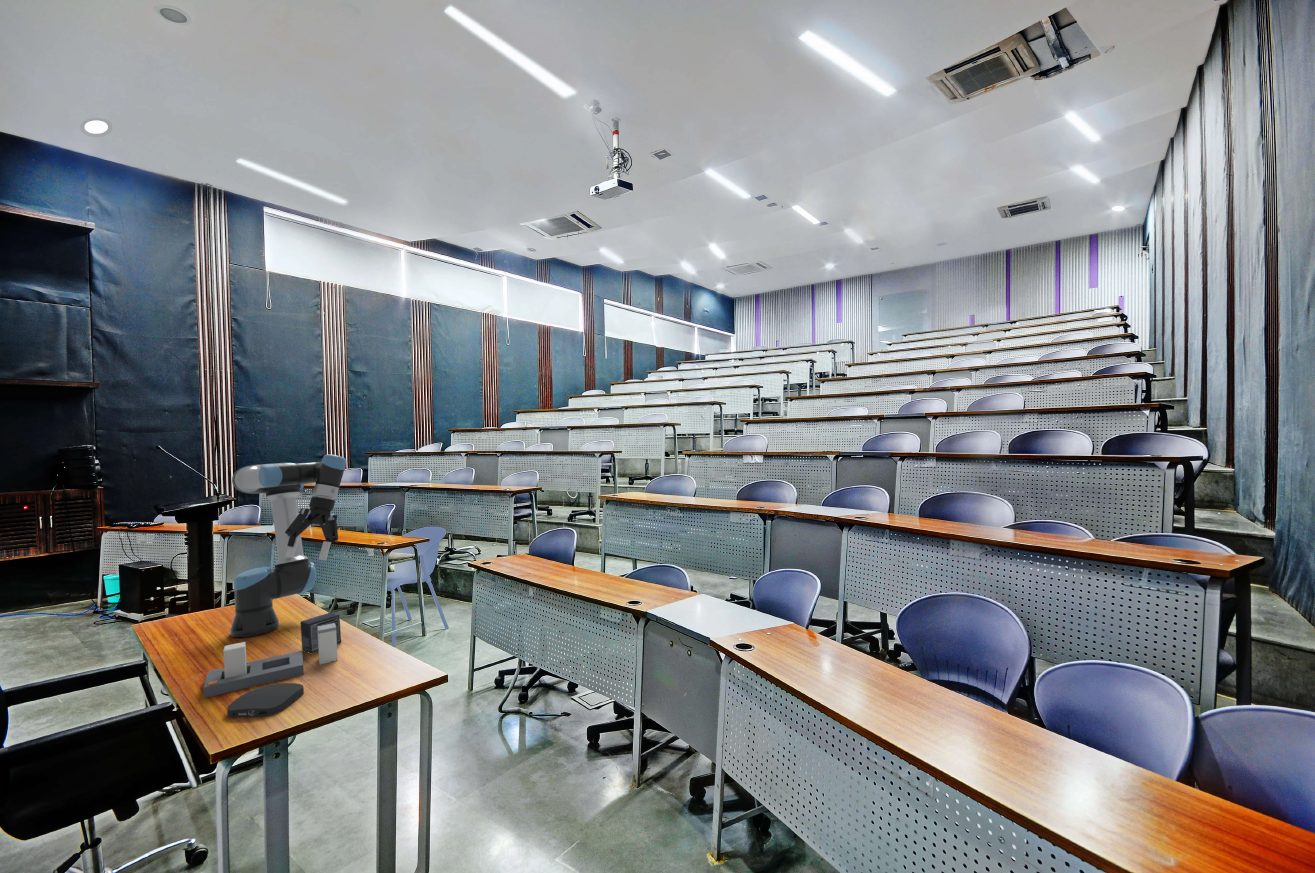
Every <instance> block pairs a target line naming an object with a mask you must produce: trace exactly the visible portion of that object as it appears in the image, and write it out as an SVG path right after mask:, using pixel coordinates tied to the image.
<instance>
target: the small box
mask: <svg viewBox="0 0 1315 873" xmlns="http://www.w3.org/2000/svg"><path fill="white" fill-rule="evenodd" d="M340 621H341V620H340V613H335V612H327V613H324V614H320V615H318V616H313V617H311V618H308V619H304V620H300V624H299V625H300V632H301V633H300V637H301V638H300V640H301V651H302V650H303V651H302V652H304V651H305V653H307V652H309V653H308V654H310V653H312V654H314V653H318V629H317V626H322V625H327V624H332V623H335V625H336V636H337V645H339V644H342V636H341V633H342V632H341V622H340ZM313 652H314V653H313Z"/></svg>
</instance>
